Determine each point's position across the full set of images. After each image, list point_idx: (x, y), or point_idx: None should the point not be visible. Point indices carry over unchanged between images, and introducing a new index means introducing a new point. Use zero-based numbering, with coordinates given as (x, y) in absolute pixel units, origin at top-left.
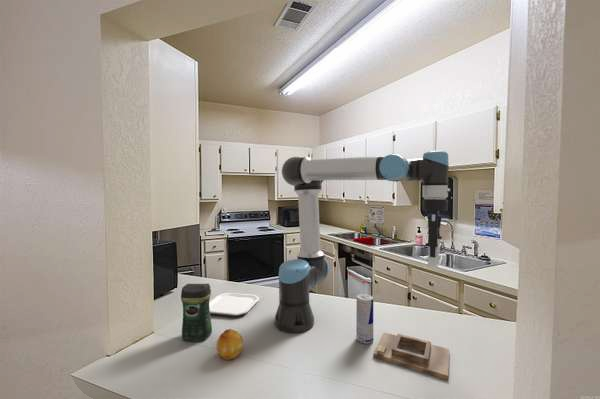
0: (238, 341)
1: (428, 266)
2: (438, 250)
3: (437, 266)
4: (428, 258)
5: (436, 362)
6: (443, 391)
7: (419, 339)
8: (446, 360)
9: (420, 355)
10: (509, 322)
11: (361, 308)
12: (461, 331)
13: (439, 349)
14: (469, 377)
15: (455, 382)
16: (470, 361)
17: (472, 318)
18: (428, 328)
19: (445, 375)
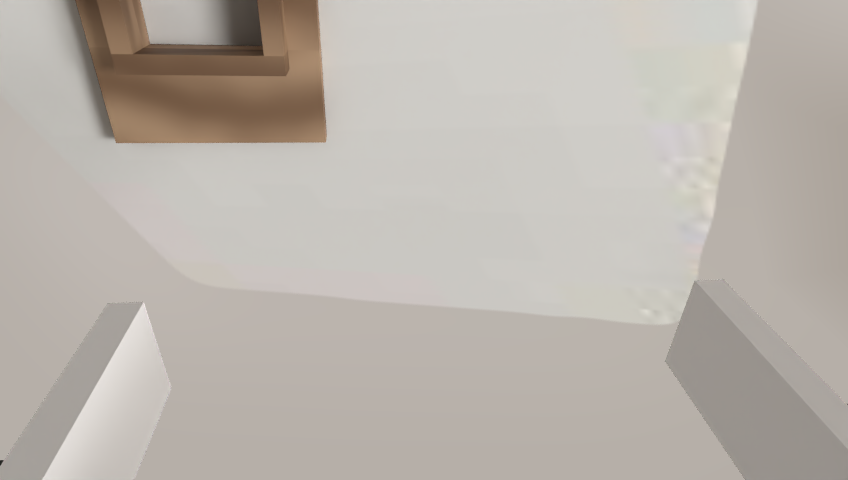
0: None
1: (108, 314)
2: (727, 440)
3: (161, 398)
4: (46, 405)
5: (177, 98)
6: (41, 123)
7: (274, 19)
8: (223, 134)
9: (120, 38)
10: None
11: None
12: (543, 179)
13: (295, 105)
14: (198, 199)
15: (130, 159)
16: (309, 204)
17: (689, 219)
18: (516, 39)
19: (114, 133)
